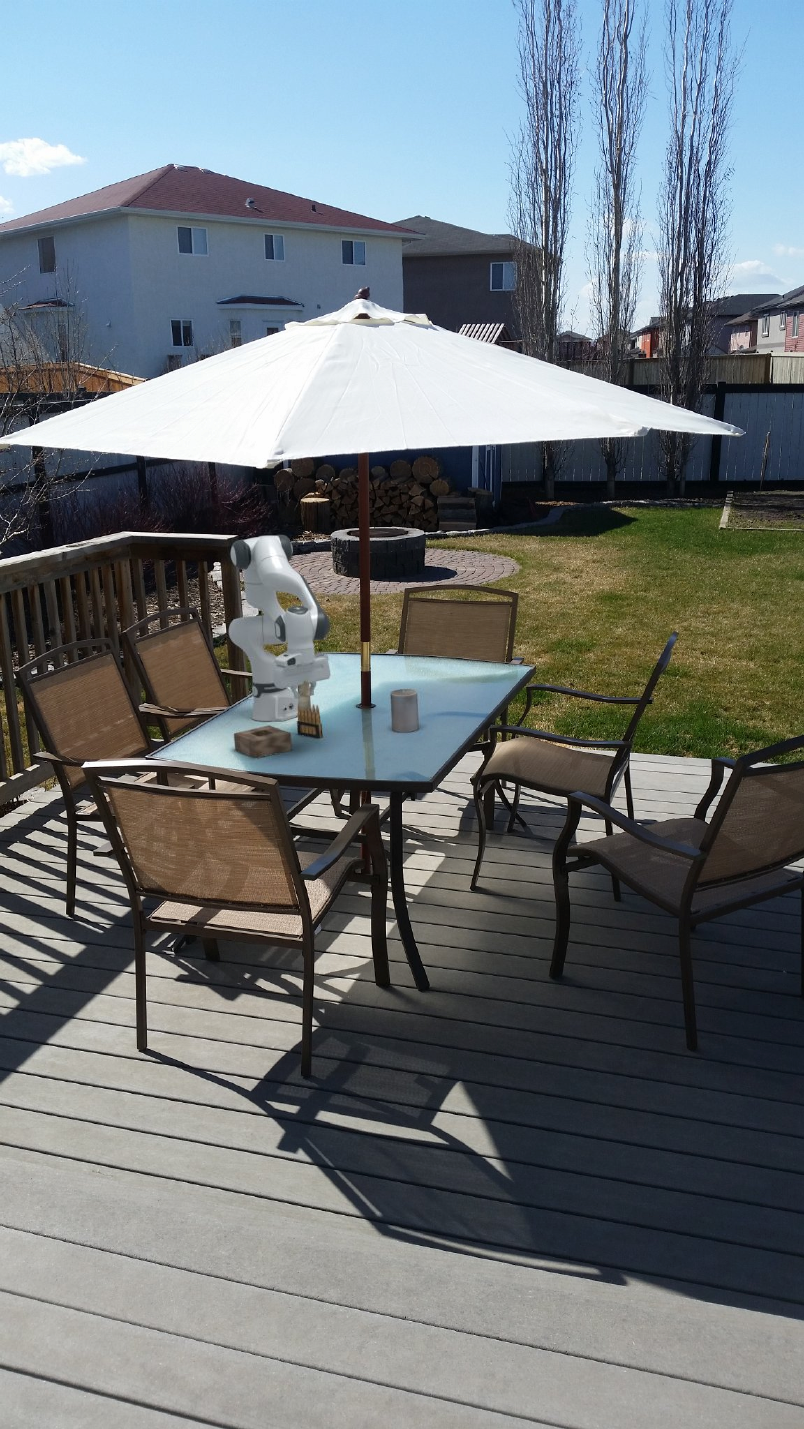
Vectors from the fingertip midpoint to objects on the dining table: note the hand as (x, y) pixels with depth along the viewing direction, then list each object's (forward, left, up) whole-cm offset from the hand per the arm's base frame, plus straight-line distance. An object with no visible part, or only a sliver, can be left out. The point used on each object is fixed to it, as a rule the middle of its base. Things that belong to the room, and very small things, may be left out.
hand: (304, 696), depth 354 cm
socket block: (+9, -14, -19) cm, 26 cm away
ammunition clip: (-12, -17, -20) cm, 29 cm away
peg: (0, 0, -4) cm, 4 cm away
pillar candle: (-41, +1, -20) cm, 45 cm away
